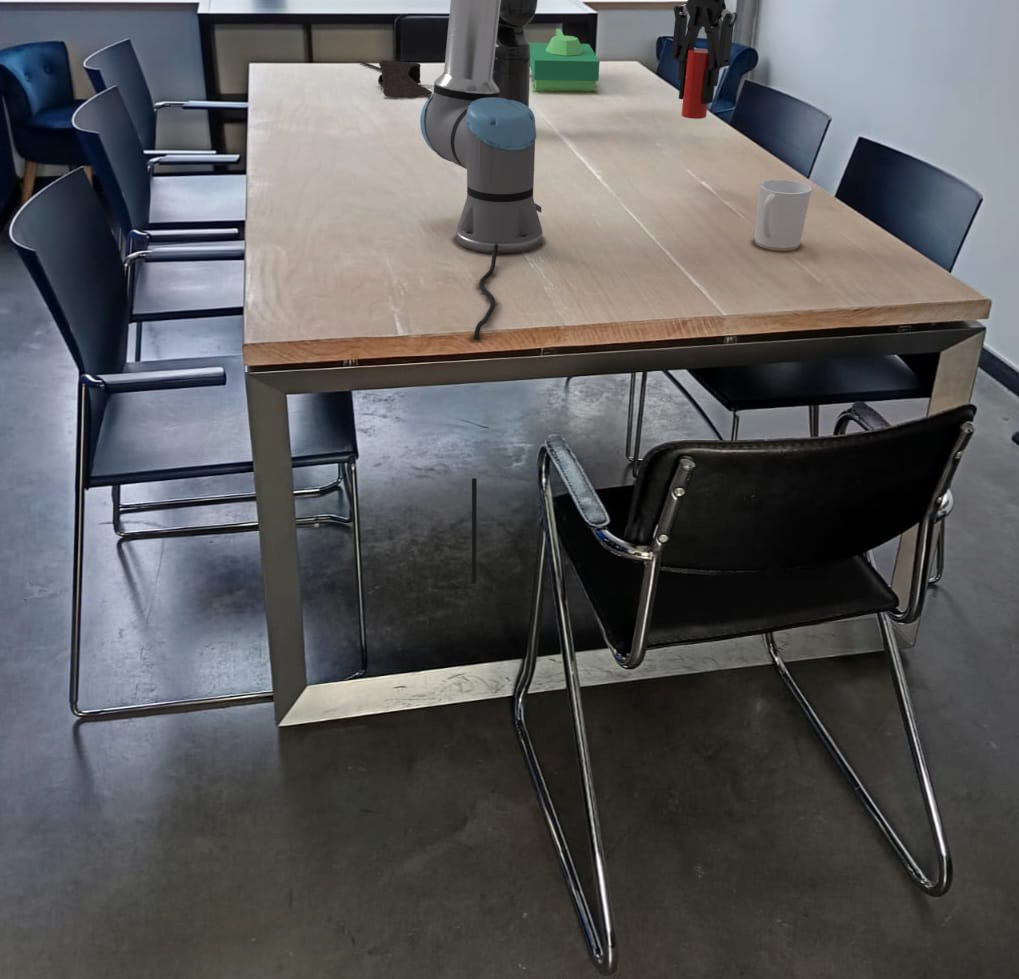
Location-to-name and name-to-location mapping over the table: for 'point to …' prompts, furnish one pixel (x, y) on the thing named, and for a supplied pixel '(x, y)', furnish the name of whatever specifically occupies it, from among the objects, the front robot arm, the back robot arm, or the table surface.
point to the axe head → (401, 79)
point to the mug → (781, 214)
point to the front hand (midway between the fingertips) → (695, 100)
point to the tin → (695, 84)
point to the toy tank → (563, 65)
